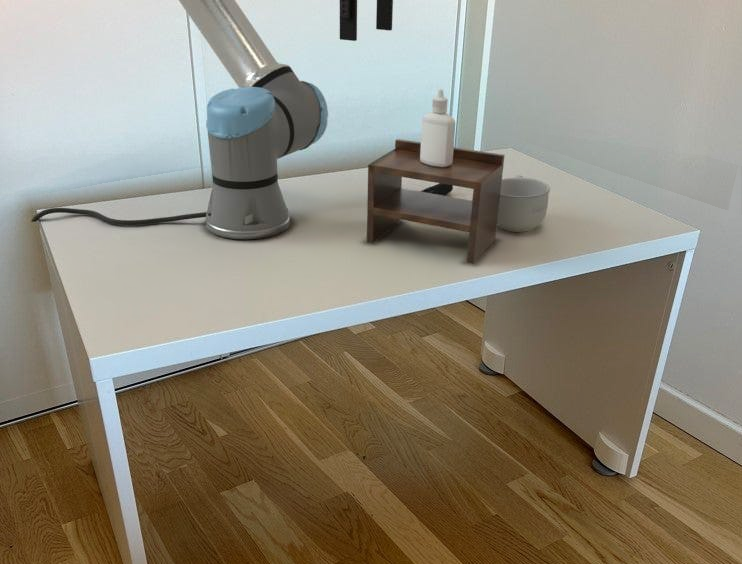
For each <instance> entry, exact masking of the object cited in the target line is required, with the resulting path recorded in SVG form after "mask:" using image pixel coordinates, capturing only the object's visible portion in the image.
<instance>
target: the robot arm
mask: <svg viewBox="0 0 742 564" xmlns="http://www.w3.org/2000/svg"><path fill="white" fill-rule="evenodd" d="M178 1H179V3H180V5H181V6H182V7H183V9H184V10H185V12H186V13H187V15H188V16H189V18H190V19H191V21H192V22H193V23H194V25H195V26H196V28H197V29H198V30H199V32H200V34H201V35H202V37H203V38H204V39H205V41H206V42H207V44H208V45H209V47H210V48H211V49H212V51H213V52H214V54H215V55H216V57H217V58H218V60H219V61H220V63H221V64H222V66H223V67H224V69H225V70H226V71H227V73H228V74H229V76H230V78H231V79H232V80H233V82H234V83H235V84H236V86H237V87H238V88H229V89H225V90H223V91H220V92H217V93H216V94H214V95H213V96H212V97H211V98H209V100H208V102H207V104H206V122H205V123H206V130H207V137H208V138H207V139H208V148H209V149H208V150H209V159H210V169H211V179H212V188H211V191H210V196H209V200H208V205H207V210H206V211H204V212H203V211H202V212H196V213H186V214H179V215H173V216H165V217H155V218H146V219H132V220H131V219H129V220H128V219H116V218H110V217H107V216H105V215H103V214H102V213H100V212H97V211H95V210H91V209H79V208H69V207H51V208H46V209H44V210H42V211H40V212H38V213H36V214H35V215H34V216H33V217H32V218H31V220H30V222H31V223H34V222H38V221H39V220H40V219H41V218H43V217H45V216H47V215H51V214H60V213H61V214H64V213H65V214H74V215H86V216H92V217H95V218H97V219H99V220H101V221H102V222H105V223H107V224H111V225H115V226H116V225H117V226H142V225H151V224H160V223H161V224H162V223H170V222H178V221H185V220H192V219H193V220H194V219H202V218H205V224H206V229H207V230H208V231H209V232H210V233H212V234H213V235H216V236H218V237H221V238H227V239H232V240H258V239H264V238H270V237H273V236H276V235H279V234H280V233H283V232H285V231H286V230H287V229H288V228H289V227H290V224H291V222H290V212H289V209H288V208H287V204H286V200H285V198H284V195H283V193H282V191H281V188H280V185H279V177H278V175H279V174H278V160H279V159H281V158H283V157H286V156H289V155H291V154H293V153H296V152H298V151H303V150H306V149H308V148H309V147H310V146H312V145H314V144H316V143H317V142H318V141H319V140H321V139H322V138H323V135H324V134H325V132H326V130H327V127H328V118H329V108H328V103H327V100H326V98H325V96H324V94H323V93H322V91H321V89H320V88H319V87H317V86H316V85H315V84H313V83H311V82H308V81H306V80H305V81H304V80H300V79H299V77H298V76H297V75H296V73H295V71H294V70H293V69H292V67H291V66H290V65H289V64H285V63H279V62H278V61H277V59H276V58H275V57H274V56H273V54H272V52H271V51H270V50H269V48H268V47H267V45H266V43H265V41H263V39H262V38H261V36H260V35H259V34H258V31H256V29H255V27H254V26H253V24H252V23H251V22H250V20H249V18H248V17H247V16H246V14H245V13H244V11H243V9H242V8H241V7H240V5H239V4H238V2H237V1H236V0H178ZM393 10H394V0H376V16H375V18H376V19H375V30H379V31H392V30H393V13H394V12H393ZM339 40H340V41H341V40H343V41H352V42H356V41H358V0H339Z"/></svg>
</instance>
